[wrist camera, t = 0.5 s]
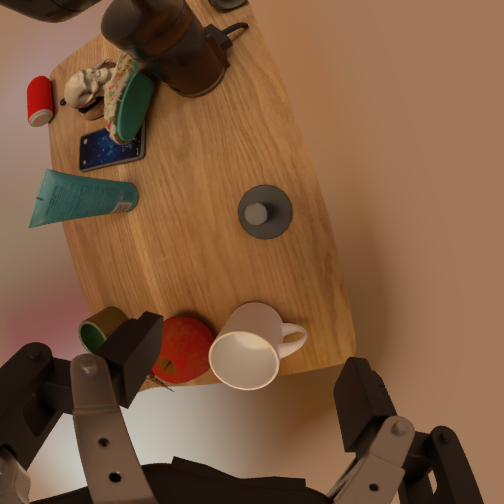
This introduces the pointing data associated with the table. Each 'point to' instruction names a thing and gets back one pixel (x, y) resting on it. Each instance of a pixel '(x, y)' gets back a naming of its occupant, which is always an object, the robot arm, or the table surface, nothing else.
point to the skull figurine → (89, 90)
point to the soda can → (226, 3)
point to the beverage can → (39, 101)
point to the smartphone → (109, 149)
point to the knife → (95, 69)
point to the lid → (265, 212)
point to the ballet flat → (127, 98)
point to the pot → (100, 328)
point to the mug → (252, 346)
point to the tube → (79, 198)
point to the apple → (183, 350)
